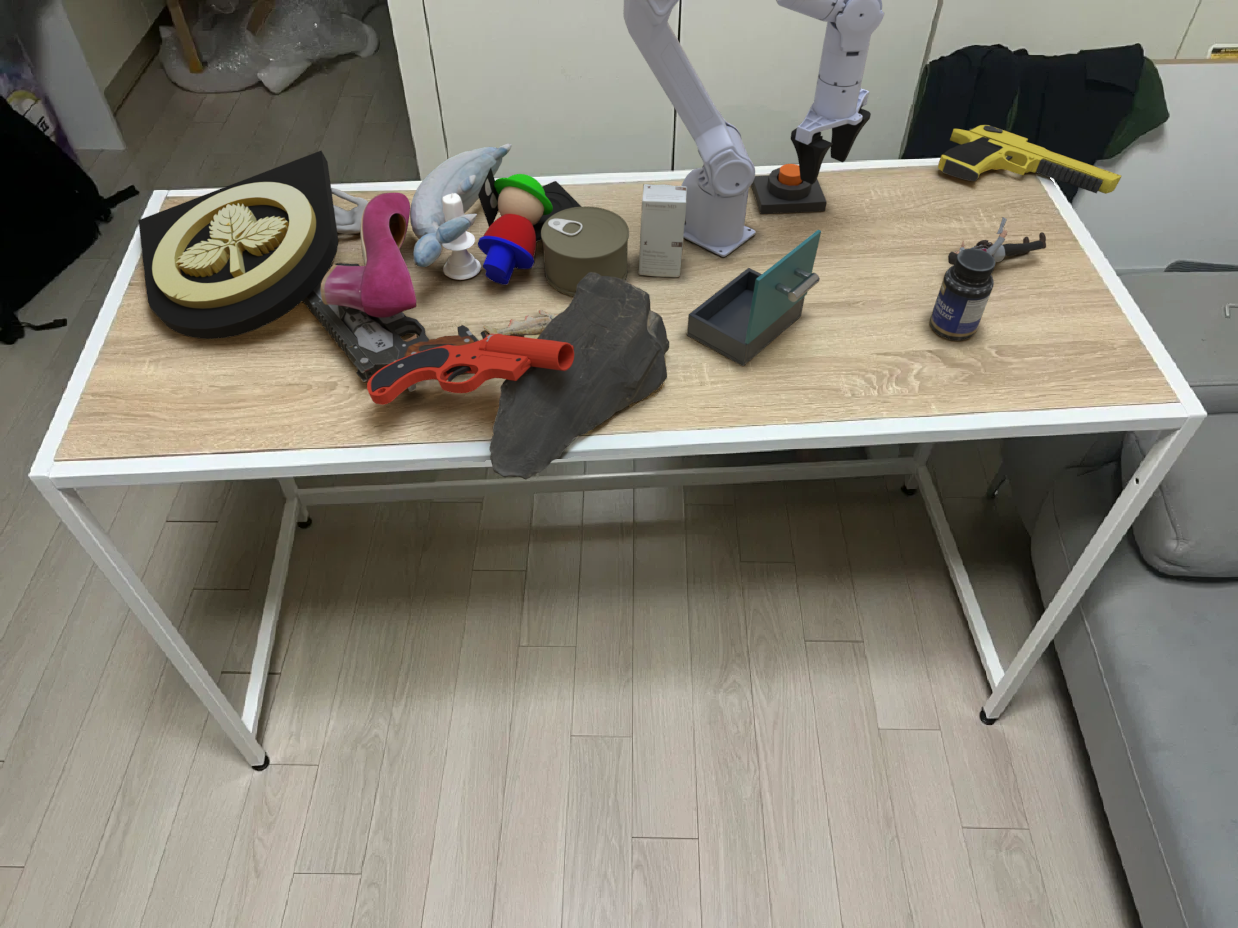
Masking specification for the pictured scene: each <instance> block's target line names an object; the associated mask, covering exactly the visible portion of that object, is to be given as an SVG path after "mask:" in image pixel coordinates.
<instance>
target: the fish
mask: <svg viewBox="0 0 1238 928" xmlns="http://www.w3.org/2000/svg"><path fill="white" fill-rule="evenodd" d="M538 313H539V315H541V316H538V317H536V318H535V317H533V316H532V315H529V314H527V315H525V317H524V321H520V320H518V319H514V318H510V320H509V324H508V326H507V327H504V328H495V327H492V326H491V325H483V326H482V327H483V329H484V330H485V331H486V332H487V333H488V335H489V334H503V335H508V336H518V337H526V338H535V339H537V338H538V337H539V336H540V334H541V333H542V331H543V330H544V329H545V327H546V326H547V325H548V324H549V323H550V321H551V320H552V319H553V318H555V317H556V316H557V315H558V314H559V313H554V314H550V313H548V312H547V311H545V310H543V309H539V310H538Z"/></svg>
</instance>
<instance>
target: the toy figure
mask: <svg viewBox="0 0 1238 928" xmlns="http://www.w3.org/2000/svg"><path fill="white" fill-rule="evenodd" d="M542 186H543V185H542V184H541V183H540V182H539V180H537V179H536V178H534V177H533V176H532V175H528V174H525V173H515V174H511V175H510V176H508V177H499V178H497V179H496V178H495V175H494V176H493V172H492V169H491V168H490V170H489V172H488V175H487V177H486V179H485V181H484V183H483V185H482V187H481V190H480V192H479V194H478V196H479V199H478V200H479V202H480V205H481V208H482V211H483V214H484V217H485V220H486V223H487V225H488V228H487V229H486V231H485V232H484V234H483V235H482V236H480V237H479V238H478V240H477V247H478V249H479V250H480V252H482V253H483V254H484V255H486V257H485V259H484V261H483V263H482V268H483V269H484V270H485V272H484V273H485V274H484V275H485V277H486V278H487V279H488V280H489V281H492V282H494V283H495V284H498V285H502V286H506V285H509V283H510V280H511V279H512V278H511V277H512V275H513V272H514V270H515V269H517V270H529V269H532V268H534V265H535V255H536V251H537V250H536V249H537V242H536V235H535V230H534V228H533V225H535V224H536V223H537V222H538V221H539V220H540V218H541V217H542V215H548V214H550V213H551V212H552V211H553V206H552V204H551V202H550V201H549V199H548V198H547V197H546V196H545V192H544V189H543V187H542ZM498 214H499V215H500V217H498V218H497V215H498ZM496 218H497V219H496Z"/></svg>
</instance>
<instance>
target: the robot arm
mask: <svg viewBox="0 0 1238 928" xmlns="http://www.w3.org/2000/svg"><path fill="white" fill-rule="evenodd" d="M679 1H680V0H623V8H622V9H623V10H622V11H623V13H622V14H623V20H624V24H625V26H626V29H627V32H628V34H629V36H630V37H631V39H632V41H633V42H634V44H635V46H636V47H637V49H638V50H639V52H640V53H641V55H642V57H643V58H644V59H643V60H645V62H646V64H647V65H648V67H649V69H650V70H651V72H652V74H653V75H654V77H655V79H656V81H657V82H658V84H659V85H660V87H661V89H662V90H663V91H664V94H665V95H666V96H667V98H668V100H669V102H670V103H671V105H672V107H673V108H674V110H675V111H676V113H677V115H678V116H679V118H680V120H681V121H682V123H683V124H684V127H685V128H686V129H687V131H688V133H689V134H690V136H691V138H692V140H693V141H694V144H695V146H696V149H697V152H698V155H699V156H700V159H701V161H702V163H703V165H702V167H696V168H693V169H692V170H691V171H690V172H689V173H688V174H687V175H686V176H685V178H684V179H683V182H682V183H681V186H686V187H687V198H686V214H685V224H684V235H683V239H686V240H687V241H689V242H691V243H693V244H695V245H698V246H699V247H702V248H703V249H705V250H707V251H709V252H712V253H713V254H716V255H718V256H720V257H722V258H726V257H727V256H728V255H730V254H731V253H733V252H734V251H735V250H736V249H738V248H739V247H740V246H741V245H743V244H744V243H746V242H747V241H749V239H751V238H753V236H755V235H756V230H755V229H754V228H751V227H749V226H746V225H745V223H746V215H747V207H748V206H747V205H748V199H749V198H748V197H749V189H750V187H752V186H751V184H752V183H753V181H754V178H755V176H756V166H755V164H754V163H753V161H752V159H751V158H750V156H749V153H748V151H747V149H746V147H745V144H744V142H743V139H742V135H741V132H740V130H739V129H738V128H737V126H736V125H734V124H732V123H730V122H728V121H727V120H726V119H725V118H724V117H723V115H722V112H721V111H719V109H718V108H717V106H716V105H715V103H714V101H713V99H712V97H711V96H710V94H709V92H708V90H707V89H706V87H705V85H704V83H703V81H702V80H701V78H700V77H699V75H698V73H697V71H696V69H695V67H694V66H693V64H692V62H691V61H690V58H689V57H688V55H687V53H686V51H685V50H684V48H683V46H682V45H681V43H680V41H679V38H678V37H677V36H676V34H675V32H674V31H673V28H672V27H671V25H670V23H669V19H670V16H671V14H672V12H673V11H672V10H673V9H674V7H675V6H676V5H677V4H678V3H679ZM775 2H776V4H777V5H778V6H779V7H782V8H785V9H788V10H790V11H793V12H796V13H799V14H801V15H805V16H807V17H810V18H813V19H814V20H815V19H816V20H818V21H820V22H825V23H826V28H825V33H824V38H823V44H822V50H821V56H820V62H819V68H818V73H817V79H816V86H815V92H814V96H813V97H814V98H813V102H812V104H811V105H810V108H809V109H808V110H807V113H806V115H805V117H804V118H803V120H802V122H801V123H800V124H798V125H797V126H796V128H793V130H791V132H790V141H791V143H792V145H793V148H794V150H795V152H796V156H797V161H798V165H799V170H800V178H801V180H803V181H805V182H807V183H810V184H814V183H815V182H816V180H817V179H818V177H819V174H820V170H821V168H822V164H823V161H824V159H825V157H826V155H827V153H828V151H830V158H831V159H833V160H835V161H838V162H841V163H844V162H846V160H847V158H848V157H849V154H850V152H851V150H852V149H853V148H852V147H853V145H854V143H855V141H856V140H857V138H858V136H859V134H860V132H861V131H862V129H863V128H864V127H865V126H866V125H867V123H868V121H870V119H871V115H872V113H871V111H869V110H867V109H864V108H863V107H866V106H867V105H868V100H869V96H870V90H867V89H865V88H862V82H863V77H864V72H865V67H866V62H867V57H868V53H869V47H870V41H871V37H872V34H873V33H874V32H875V31H876V30H877V29H878V28H879V26H880V24H881V23H882V21H883V20H884V17H885V12H884V11H883V1H882V0H775ZM830 129H831V140H830V141H829V140H826V139H824V135H822V132H824V131H827V130H830Z"/></svg>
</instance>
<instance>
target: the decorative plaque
mask: <svg viewBox="0 0 1238 928" xmlns="http://www.w3.org/2000/svg"><path fill="white" fill-rule="evenodd" d="M331 188H332V185H331V177H330V169H329V162H328V160H327V158H326V156H325V154H324V153H323V151H322V150H319V151H316V152H313V153H311V154H308V155H306V156H303V157H300V158H298V159H295V160H293V161H290V162H287V163H284V164H282V165H279V166H276V167H273V168H271V169H268V170H266V171H264V172H261V173H258V174H256V175H253V176H251V177H248V178H245V179H242V180H240V181H237V182H235V183H232V184H229V185H227V186H224V187H221V188H219V189H216V190H214V191H211V192H209V193H205V194H203V195H200V196H198V197H195V198H192V199H190V200H188V201H187V200H186V201H185V202H181V203H179V204H176V205H174V206H171V207H169V208H166V209H163V210H161V211H158V212H155V213H153V214H151V215H148V216H145V217H143V218H140V219H138V228H139V238H140V246H141V255H142V256H141V257H142V265H143V274H144V282H145V283H144V284H145V291H146V299H147V302H148V306H149V308H150V309H151V310H152V312H153V313H154V314H155V315H156V317H158V319H159V320H160V321H161V322H162V323H163V324H164V326H166V327H168V328H169V329H170V330H172V331H174V332H175V333H178V334H180V335H182V336H185V337H190V338H192V339H193V338H194V339H202V340H217V339H219V340H220V339H226V338H231V337H232V338H233V337H237V336H240V335H244V334H247V333H250V332H253V331H255V330H258V329H261V328H263V327H265V326H267V325H269V324H271V323H273V322H274V321H277V320H278V319H280V318H281V317H283V316H285V315H286V314H288V313H289V312H290V311H292V310H293V309H294V308H296V307H297V306H298V305H299V304H301V303H303V302H302V301H303V300H304V299H305V298H306V297H307V296H308V295H309V294H310V293H311V292H312V291H313V290H314V289H315V288H316V286H317V285H318V284H319V283H320V282H321V280H322V279H323V277H324V276H325V275H326V273H327V272H328V271H329V270H330V269H329V268H330V266H331V265H333V262H334V260H335V257H336V255H337V252H338V246H339V236H338V232H337V227H336V220H335V212H334V205H335V204H334V200H333V199H334V198H333V194H332V190H331Z"/></svg>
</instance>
